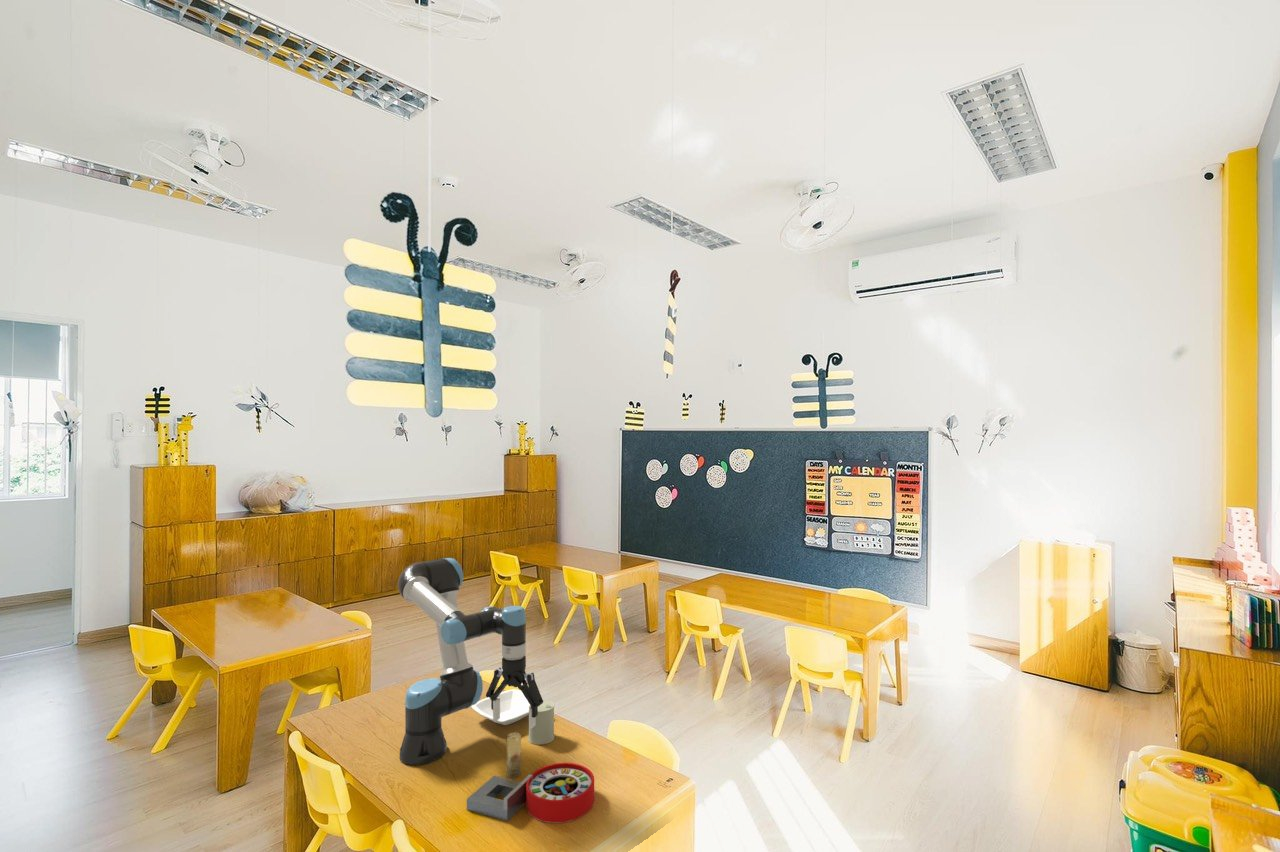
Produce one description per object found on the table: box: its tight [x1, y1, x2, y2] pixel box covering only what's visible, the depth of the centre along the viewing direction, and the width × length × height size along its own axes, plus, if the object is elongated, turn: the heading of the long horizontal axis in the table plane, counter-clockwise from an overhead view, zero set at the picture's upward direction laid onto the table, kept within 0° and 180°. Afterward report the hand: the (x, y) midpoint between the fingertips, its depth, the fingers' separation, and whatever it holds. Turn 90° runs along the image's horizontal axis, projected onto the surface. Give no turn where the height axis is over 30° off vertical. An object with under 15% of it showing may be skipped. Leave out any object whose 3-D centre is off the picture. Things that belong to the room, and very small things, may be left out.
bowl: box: [470, 688, 530, 726], centre depth 225 cm, size 22×23×6 cm
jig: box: [466, 774, 533, 822], centre depth 172 cm, size 14×13×6 cm
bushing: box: [505, 732, 522, 779], centre depth 187 cm, size 4×4×12 cm
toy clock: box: [525, 762, 595, 824], centre depth 172 cm, size 20×6×20 cm
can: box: [528, 699, 555, 746], centre depth 210 cm, size 9×9×12 cm
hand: (514, 723), depth 187 cm, fingers open, 13 cm apart
